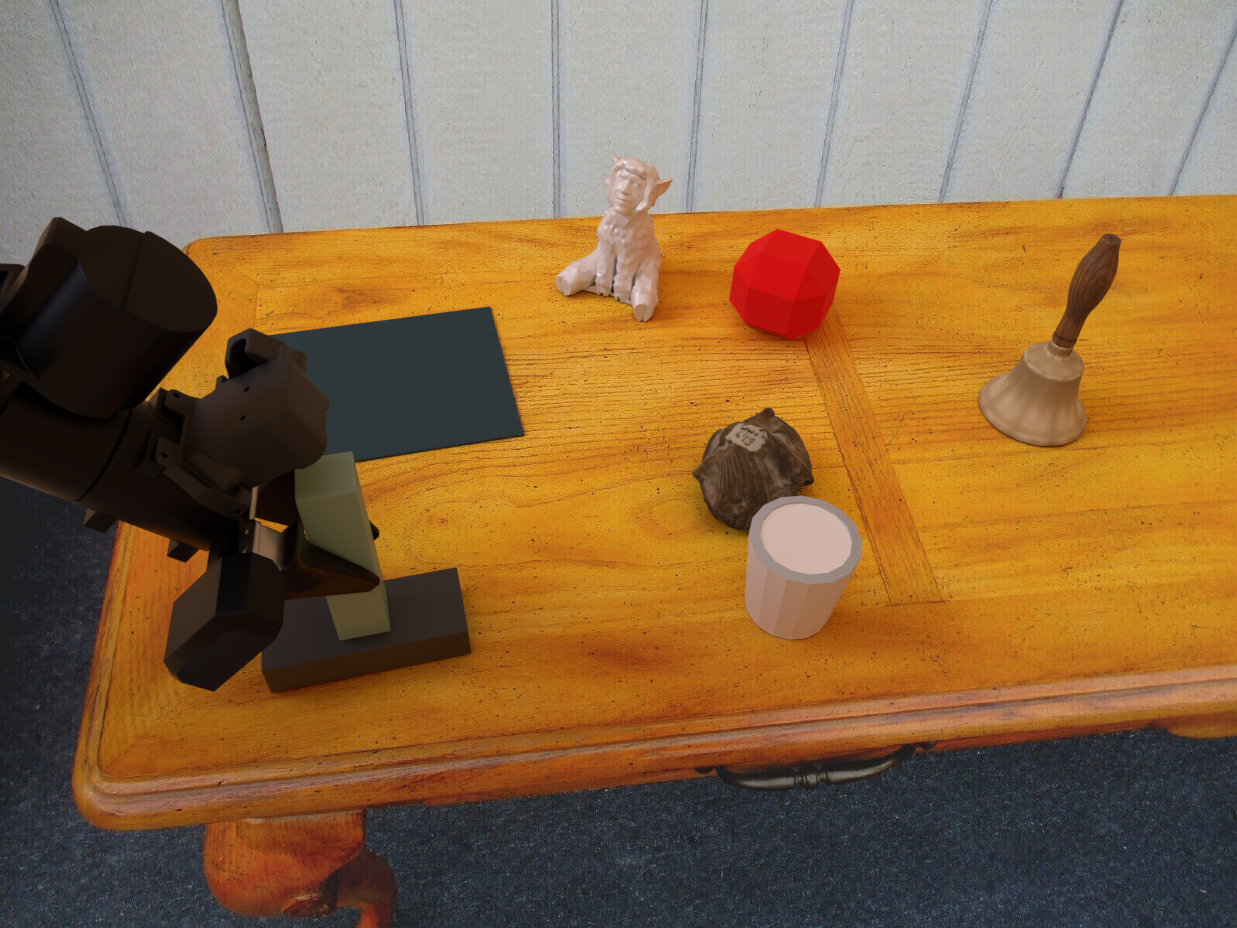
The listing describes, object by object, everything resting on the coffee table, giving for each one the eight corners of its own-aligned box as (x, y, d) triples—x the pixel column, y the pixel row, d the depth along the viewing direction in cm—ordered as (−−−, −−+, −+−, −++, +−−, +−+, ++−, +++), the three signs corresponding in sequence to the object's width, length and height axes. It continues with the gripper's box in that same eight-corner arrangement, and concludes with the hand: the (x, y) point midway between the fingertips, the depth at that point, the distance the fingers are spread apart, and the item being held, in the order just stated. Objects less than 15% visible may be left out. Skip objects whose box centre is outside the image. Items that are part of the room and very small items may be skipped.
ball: (834, 309, 84) (853, 235, 79) (806, 362, 79) (823, 287, 74) (750, 283, 87) (762, 209, 81) (717, 332, 82) (727, 258, 76)
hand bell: (956, 395, 77) (1024, 225, 65) (1029, 364, 80) (1107, 196, 68) (1032, 461, 72) (1120, 290, 61) (1107, 425, 75) (1205, 256, 64)
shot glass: (719, 622, 62) (732, 556, 56) (756, 547, 66) (771, 479, 61) (821, 664, 60) (844, 600, 54) (852, 584, 64) (876, 518, 59)
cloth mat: (249, 478, 69) (249, 477, 68) (250, 338, 79) (250, 337, 79) (524, 435, 72) (524, 434, 72) (490, 307, 83) (490, 306, 83)
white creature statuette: (551, 294, 84) (548, 171, 76) (595, 245, 90) (597, 125, 81) (648, 326, 82) (657, 203, 73) (687, 273, 87) (700, 153, 78)
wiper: (271, 693, 57) (199, 531, 46) (270, 625, 60) (203, 459, 49) (471, 653, 59) (447, 490, 48) (460, 590, 63) (435, 424, 52)
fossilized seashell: (769, 401, 72) (660, 465, 70) (801, 376, 66) (683, 446, 63) (821, 486, 72) (714, 553, 69) (859, 469, 65) (742, 543, 63)
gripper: (160, 503, 35) (481, 629, 45) (215, 224, 48) (456, 370, 57) (22, 646, 40) (340, 733, 50) (104, 358, 52) (345, 472, 62)
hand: (375, 561), depth 55 cm, fingers closed on wiper, 3 cm apart
